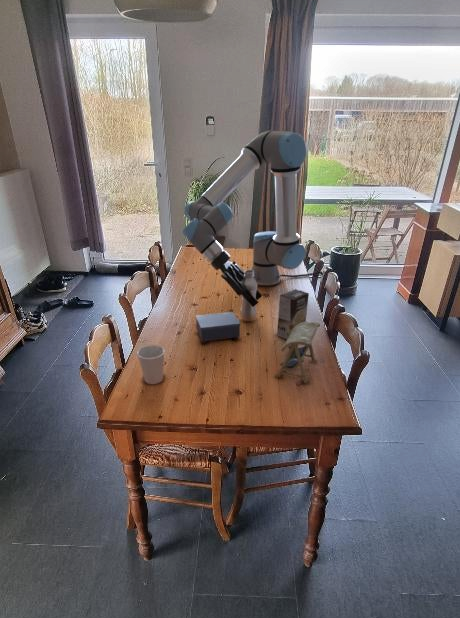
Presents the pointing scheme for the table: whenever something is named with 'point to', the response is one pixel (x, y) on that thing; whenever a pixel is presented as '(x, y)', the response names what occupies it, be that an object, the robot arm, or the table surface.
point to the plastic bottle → (251, 285)
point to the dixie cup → (151, 363)
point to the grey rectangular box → (218, 326)
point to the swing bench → (297, 354)
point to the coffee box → (291, 311)
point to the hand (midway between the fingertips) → (257, 301)
